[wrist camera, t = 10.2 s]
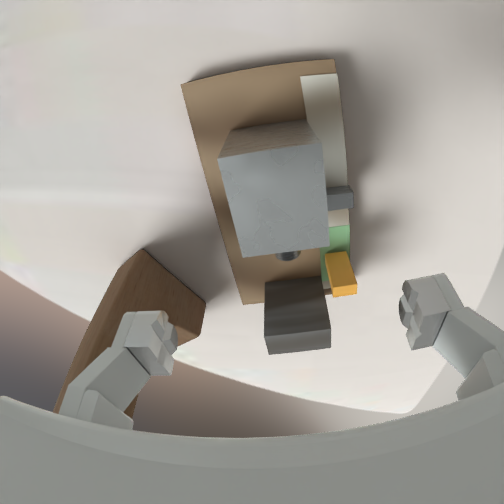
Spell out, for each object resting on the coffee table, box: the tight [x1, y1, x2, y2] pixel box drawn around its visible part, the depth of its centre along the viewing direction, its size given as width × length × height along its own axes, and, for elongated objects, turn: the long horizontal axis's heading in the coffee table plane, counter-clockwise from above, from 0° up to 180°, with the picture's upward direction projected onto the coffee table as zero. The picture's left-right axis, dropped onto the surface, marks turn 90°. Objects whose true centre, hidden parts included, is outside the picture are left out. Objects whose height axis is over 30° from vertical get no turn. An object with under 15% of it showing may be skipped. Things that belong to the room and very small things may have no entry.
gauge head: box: [217, 119, 354, 261], centre depth 18 cm, size 8×8×6 cm
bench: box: [181, 59, 350, 355], centre depth 20 cm, size 20×10×8 cm, turn 11°
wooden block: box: [53, 249, 206, 419], centre depth 22 cm, size 9×4×18 cm, turn 39°
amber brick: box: [325, 251, 357, 297], centre depth 22 cm, size 1×2×4 cm, turn 100°
